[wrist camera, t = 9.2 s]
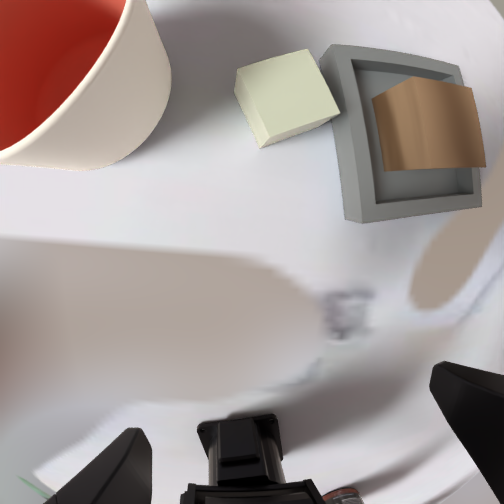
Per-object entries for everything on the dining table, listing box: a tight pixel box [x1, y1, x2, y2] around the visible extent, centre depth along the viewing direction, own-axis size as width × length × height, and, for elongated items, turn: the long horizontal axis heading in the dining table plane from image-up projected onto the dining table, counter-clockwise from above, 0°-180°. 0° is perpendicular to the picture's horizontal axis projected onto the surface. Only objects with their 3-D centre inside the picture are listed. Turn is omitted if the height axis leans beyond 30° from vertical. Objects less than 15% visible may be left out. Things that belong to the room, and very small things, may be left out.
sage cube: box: [234, 49, 340, 149], centre depth 15 cm, size 4×4×4 cm
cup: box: [0, 0, 171, 171], centre depth 11 cm, size 10×10×10 cm
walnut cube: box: [372, 76, 486, 172], centre depth 15 cm, size 5×5×5 cm
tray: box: [319, 44, 482, 224], centre depth 17 cm, size 11×11×3 cm
